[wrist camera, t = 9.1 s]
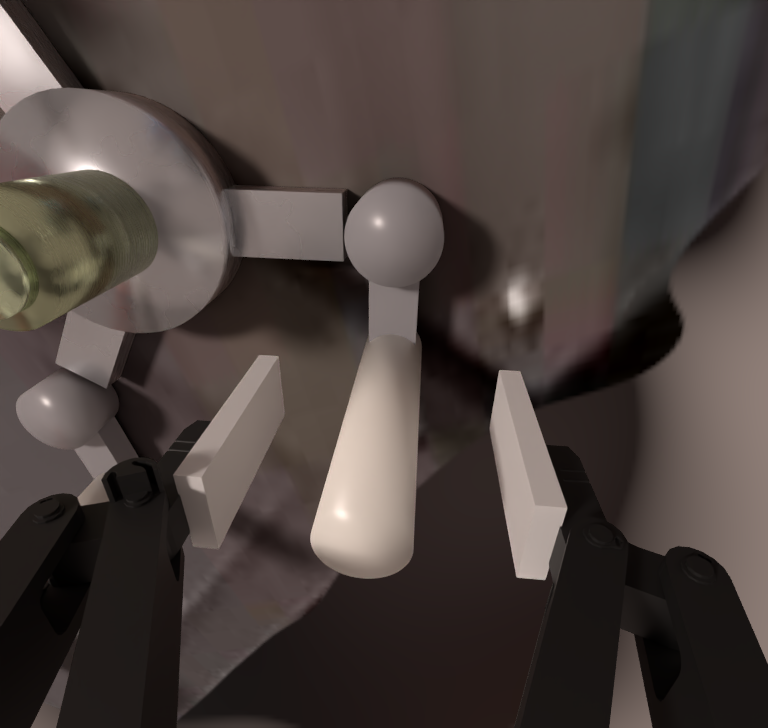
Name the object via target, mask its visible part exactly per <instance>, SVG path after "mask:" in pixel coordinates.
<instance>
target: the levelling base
mask: <svg viewBox="0 0 768 728" xmlns="http://www.w3.org/2000/svg"><path fill="white" fill-rule="evenodd" d="M0 107H1V108H2V109H3V111H4V112H5V113H6V114H5V115H4V116H3V118H2V119H1V121H0V328H1V329H5V330H11V331H29V330H34V329H37V328H39V327H41V326H43V325H45V324H47V323H49V322H51V321H53V320H54V319H56V318H58V317H60V316H62V315H64V314H66V313H67V312H68V313H67V317H66V322H65V326H64V330H63V334H62V338H61V342H60V346H59V350H58V355H57V359H56V364H58V365H60V366H62V367H64V368H66V369H68V370H70V371H72V372H74V373H76V374H78V375H80V376H82V377H84V378H86V379H88V380H90V381H92V382H94V383H96V384H98V385H100V386H102V387H104V388H106V389H107V388H108V387H109V386H110V385H111V384H113V383H114V382H115V381H116V380H117V379H119V378H120V377H121V375H122V372H123V369H124V366H125V363H126V360H127V357H128V354H129V352H130V349H131V346H132V343H133V340H134V337H135V334H136V333H153V332H160V331H165V330H168V329H172V328H174V327H177V326H179V325H181V324H183V323H185V322H186V321H188V320H189V319H191V318H192V317H194V316H195V315H196V314H197V313H199V312H200V311H201V310H202V309H203V308H204V307H206V306H207V305H208V304H209V303H210V302H212V301H213V300H214V299H215V298H216V297H217V296H219V295H220V294H221V293H222V292H223V291H224V290H225V289H226V288H227V286H228V285H229V284H230V283H231V281H232V280H233V278H234V276H235V274H236V273H237V271H238V268H239V266H240V263H241V260H242V257H258V258H280V259H301V260H323V261H344V260H345V258H346V257H347V255H348V254H347V251H346V247H345V240H344V233H345V226H346V222H347V219H348V209H347V189H336V188H307V187H278V186H249V185H235V183H234V181H233V178H232V176H231V174H230V172H229V170H228V169H227V167H226V165H225V163H224V162H223V160H222V158H221V157H220V156H219V154H218V153H217V151H216V150H215V149H214V147H213V146H212V145H211V144H210V142H209V141H208V140H207V139H206V138H205V137H204V136H203V135H202V133H201V132H200V131H198V130H197V129H196V128H195V127H194V126H193V125H192V124H191V123H190V122H188V121H187V120H186V119H184V118H183V117H182V116H180V115H179V114H178V113H176V112H175V111H173V110H171V109H170V108H168V107H166V106H164V105H162V104H161V103H159V102H156V101H154V100H151V99H149V98H146V97H144V96H140V95H136V94H132V93H128V92H118V91H106V90H93V89H84V88H83V86H82V85H81V83H80V82H79V81H78V79H77V78H76V76H75V75H74V74H73V72H72V71H71V70H70V68H69V67H68V65H67V64H66V63H65V61H64V60H63V59H62V57H61V56H60V54H59V53H58V52H57V50H56V49H55V47H54V46H53V45H52V43H51V42H50V41H49V39H48V38H47V36H46V35H45V34H44V32H43V31H42V29H41V28H40V27H39V25H38V24H37V23H36V21H35V20H34V18H33V17H32V16H31V14H30V13H29V11H28V10H27V9H26V7H25V6H24V5H23V3H22V2H21V0H0Z"/></svg>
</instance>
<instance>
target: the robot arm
mask: <svg viewBox="0 0 768 728" xmlns="http://www.w3.org/2000/svg"><path fill="white" fill-rule="evenodd" d="M284 415H285V410H284V401H283V392H282V383H281V374H280V365H279V356H266V355H259V356H258V358H257V359H256V360H255V362H254V363H253V364H252V366H251V367H250V369H249V370H248V371H247V373H246V374H245V376H244V377H243V378H242V380H241V381H240V383H239V384H238V385H237V387H236V388H235V389H234V391H233V392H232V394H231V395H230V396H229V398H228V399H227V401H226V402H225V403H224V405H223V406H222V408H221V409H220V410H219V412H218V413H217V414H216V416H215V417H214V419H213V420H212V421H200V420H197V421H196V422H195V423H193V424H192V425H190V426H189V427H187V428H186V429H184V430H183V432H182V433H181V434H180V435H179V437H178V438H177V439H176V442H174V443H173V444H172V446H171V447H170V448H169V451H167V452H166V453H165V454H164V456H163V457H162V458H161V460H160V461H159V462H158V463H156V462H155V461H154V460H152V459H150V458H145V457H140V458H132V459H128V460H125V461H122V462H120V463H118V464H116V465H115V466H113V467H112V468H110V469H109V470H108V471H107V472H106V473H105V474H104V476H103V478H102V479H101V481H102V483H103V486H104V489H105V491H106V494H107V496H108V499H109V501H107V502H102V503H96V504H89V505H83V506H81V505H80V503H79V500H78V498H77V497H75V496H74V495H72V494H64V493H62V494H56V495H51V496H48V497H46V498H43V499H41V500H39V501H37V502H36V503H34V504H32V505H31V506H29V507H28V508H27V509H26V510H25V511H24V512H23V513H22V514H21V515H20V516H19V518H18V519H17V520H16V521H15V523H14V524H13V525H12V527H11V528H10V529H9V530H8V532H7V533H6V534H5V536H4V537H3V538H2V539H1V541H0V728H30V727H31V726H32V724H33V722H34V720H35V718H36V716H37V714H38V712H39V710H40V708H41V706H42V704H43V702H44V700H45V698H46V696H47V694H48V692H49V689H50V687H51V685H52V683H53V681H54V679H55V677H56V675H57V673H58V671H59V669H60V667H61V665H62V663H63V661H64V659H65V657H66V655H67V653H68V651H69V649H70V647H71V645H72V643H73V641H74V639H75V637H76V635H77V633H78V631H79V629H80V631H79V636H78V640H77V644H76V648H75V652H74V656H73V660H72V665H71V669H70V673H69V677H68V681H67V685H66V689H65V694H64V698H63V702H62V706H61V710H60V714H59V719H58V723H57V727H56V728H177V709H178V687H179V666H180V644H181V622H182V600H183V578H184V557H185V556H184V552H183V548H182V545H183V543H184V542H185V540H186V538H187V536H188V535H189V534H190V537H191V541H192V544H193V547H202V548H212V549H219V548H220V546H221V544H222V542H223V540H224V538H225V536H226V534H227V531H228V529H229V527H230V525H231V523H232V521H233V519H234V517H235V515H236V513H237V511H238V509H239V507H240V505H241V503H242V501H243V499H244V497H245V495H246V493H247V491H248V489H249V487H250V485H251V483H252V481H253V478H254V476H255V474H256V472H257V470H258V468H259V466H260V464H261V462H262V460H263V458H264V456H265V454H266V452H267V450H268V448H269V446H270V444H271V442H272V440H273V438H274V436H275V434H276V432H277V430H278V428H279V425H280V423H281V421H282V419H283V417H284ZM489 430H490V435H491V441H492V446H493V452H494V457H495V463H496V468H497V473H498V479H499V484H500V490H501V495H502V501H503V506H504V511H505V517H506V522H507V528H508V533H509V539H510V544H511V549H512V555H513V560H514V565H515V571H516V576H517V577H518V578H528V579H539V580H545V579H546V576H547V573H548V569H549V567H550V571H551V575H552V579H553V585H552V588H551V592H550V594H549V597H548V600H547V604H546V607H545V609H546V610H545V614H544V618H543V622H542V625H541V629H540V632H539V636H538V640H537V644H536V648H535V651H534V655H533V659H532V663H531V666H530V670H529V674H528V678H527V681H526V685H525V689H524V692H523V697H522V700H521V704H520V707H519V711H518V716H517V719H516V722H515V726H514V728H609V724H610V715H611V705H612V697H613V687H614V678H615V669H616V660H617V651H618V642H619V633H620V628H621V629H623V630H626V631H628V632H631V633H633V634H634V636H635V641H636V646H637V651H638V657H639V661H640V667H641V671H642V677H643V682H644V687H645V692H646V697H647V702H648V707H649V712H650V717H651V722H652V727H653V728H768V664H767V662H766V659H765V657H764V654H763V652H762V650H761V647H760V645H759V643H758V640H757V638H756V636H755V633H754V631H753V629H752V627H751V624H750V622H749V620H748V617H747V615H746V613H745V610H744V608H743V606H742V603H741V601H740V599H739V597H738V594H737V592H736V590H735V587H734V585H733V583H732V580H731V579H730V576H729V575H728V573H727V572H726V570H725V569H724V568H723V567H722V566H721V565H720V564H719V563H718V562H717V561H716V560H715V559H713V558H712V557H710V556H708V555H706V554H705V553H703V552H701V551H699V550H696V549H693V548H690V547H679V546H678V547H675V548H672V549H670V550H669V551H668V552H667V554H666V555H665V556H662V555H660V554H656V553H654V552H650V551H648V550H645V549H642V548H639V547H637V546H634V545H632V544H630V543H628V542H627V540H626V538H625V537H624V535H623V534H622V532H621V531H620V530H618V529H617V528H616V527H615V526H614V525H612V524H610V523H609V522H607V521H606V519H605V516H604V514H603V512H602V509H601V507H600V505H599V502H598V500H597V498H596V496H595V493H594V491H593V489H592V486H591V484H590V483H589V479H588V477H587V475H586V473H585V470H584V468H583V465H582V463H581V461H580V458H579V457H578V456H577V455H576V454H575V453H574V452H573V451H572V450H571V449H570V448H569V447H566V446H551V445H546V444H545V442H544V439H543V436H542V433H541V430H540V427H539V424H538V421H537V419H536V416H535V413H534V410H533V407H532V404H531V401H530V398H529V395H528V393H527V390H526V387H525V384H524V381H523V378H522V375H521V372H520V371H507V370H499V375H498V381H497V387H496V392H495V398H494V404H493V410H492V416H491V422H490V428H489Z"/></svg>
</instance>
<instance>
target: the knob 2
mask: <svg viewBox="0 0 768 728" xmlns="http://www.w3.org/2000/svg"><path fill="white" fill-rule="evenodd" d="M344 240H345V247H346V251H347V254H348V257H349V259H350V261H351V262H352V264H353V265H354V267H355V268H356V269H357V271H358V272H359V273H360V274H361V275H363V276H364V277H365V278H367V279H368V280H369V335H368V338H367V341H366V344H365V348H364V351H363V355H362V358H361V362H360V365H359V368H358V372H357V375H356V379H355V382H354V386H353V389H352V393H351V396H350V400H349V403H348V407H347V410H346V413H345V417H344V420H343V424H342V427H341V431H340V434H339V438H338V441H337V445H336V448H335V451H334V455H333V458H332V462H331V465H330V469H329V472H328V476H327V479H326V483H325V486H324V490H323V493H322V496H321V500H320V503H319V507H318V510H317V514H316V517H315V521H314V524H313V528H312V531H311V536H310V541H311V546H312V548H313V550H314V552H315V554H316V555H317V557H318V558H319V559H320V560H321V561H322V562H323V563H324V564H326V565H327V566H328V567H330V568H331V569H333V570H335V571H337V572H339V573H342V574H345V575H348V576H352V577H357V578H368V579H370V578H381V577H385V576H389V575H392V574H394V573H396V572H398V571H400V570H401V569H402V568H404V567H405V566H406V565H407V564H408V563H409V561H410V559H411V557H412V555H413V546H414V523H415V499H416V476H417V452H418V428H419V404H420V380H421V356H422V343H421V339H420V337H419V335H418V333H417V332H416V329H417V313H418V296H419V281H420V280H422V279H423V278H424V277H426V276H427V275H428V274H429V273H430V272H431V271H432V270H433V268H434V267H435V266H436V264H437V262H438V261H439V259H440V256H441V254H442V250H443V245H444V229H443V220H442V213H441V209H440V207H439V204H438V202H437V200H436V198H435V197H434V196H433V194H432V193H431V192H430V191H429V190H428V189H427V188H426V187H424V186H423V185H422V184H420V183H418V182H416V181H413V180H411V179H407V178H390V179H386V180H383V181H381V182H379V183H377V184H375V185H374V186H372V187H371V188H370V189H369V190H368V191H367V192H366V193H365V194H364V195H363V196H362V198H361V199H360V200H359V201H358V202H357V203H356V205H355V206H354V207H353V209H352V210H351V212H350V214H349V216H348V219H347V222H346V226H345V233H344Z"/></svg>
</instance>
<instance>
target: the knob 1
mask: <svg viewBox="0 0 768 728" xmlns="http://www.w3.org/2000/svg"><path fill="white" fill-rule="evenodd" d="M118 409H119V399H118V396H117V393H116V391H115V390H114V388H113V387H112V385H110V386H109V387H108V388H107V389H106V388H104V387H102V386H100V385H98V384H96V383H94V382H92V381H90V380H88V379H86V378H84V377H82V376H80V375H78V374H76V373H74V372H72V371H70V370H68V369H66V368H64V367H62V368H60V369H59V370H57V371H56V372H54V373H53V374H51V375H50V376H48V377H47V378H45V379H44V380H43V381H41V382H40V383H38V384H37V385H35V386H34V387H32V388H31V389H29V390H28V391H26V392H25V393H23V394H22V395H21V396H20V397H19V398H18V400H17V403H16V412H17V415H18V418H19V420H20V422H21V423H22V425H23V426H24V427H25V429H26V430H27V431H28V432H29V433H30V434H31V435H33V436H34V437H35V438H37V439H38V440H40V441H41V442H43V443H45V444H47V445H49V446H52V447H55V448H59V449H65V450H71V449H74V450H75V451H76V453H77V454H78V456H79V457H80V459H81V460H82V462H83V463H84V465H85V466H86V468H87V469H88V471H89V472H90V474H91V475H92V477H93V478H94V480H93V482H92V483H91V484H90V485H89V486H88V487H87V488H86V489H85V490H84V491H83V492H82V493H81V494H80V496H79V497H78V500H79V503H80V505H81V506H83V505H89V504H96V503H102V502H107V501H109V499H108V496H107V494H106V491H105V489H104V486H103V483H102V481H101V479H102V478H103V476H104V474H105V473H106V472H107V471H108V470H109V469H110V468H112V467H113V466H115V465H116V464H118V463H120V462H122V461H125V460H128V459H132V458H139V457H138V455H137V454H136V452H135V450H134V449H133V447H132V445H131V443H130V442H129V440H128V438H127V437H126V435H125V433H124V432H123V430H122V428H121V427H120V425H119V423H118V421H117V420H116V418H115V415H116V413H117V412H118Z"/></svg>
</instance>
